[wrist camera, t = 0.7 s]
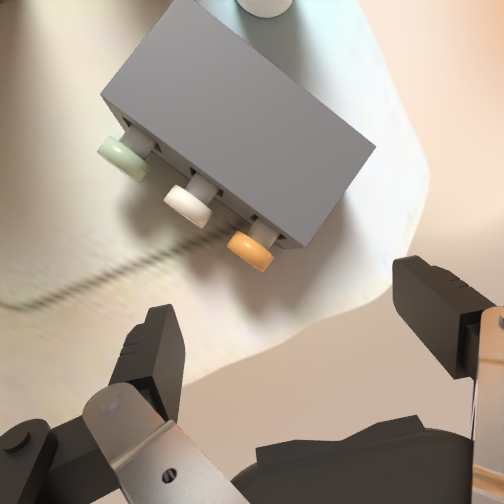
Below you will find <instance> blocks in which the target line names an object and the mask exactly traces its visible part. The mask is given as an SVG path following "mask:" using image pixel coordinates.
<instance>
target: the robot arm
mask: <svg viewBox="0 0 504 504" xmlns="http://www.w3.org/2000/svg"><path fill="white" fill-rule="evenodd" d="M0 1H1V0H0ZM392 272H393V302H394V305H395V308H396V310H397V312H398V314H399V315H400V316H401V317H402V318H403V320H404V321H405V322H406V323H407V324H408V326H409V327H410V328H411V329H412V330H413V331H414V333H415V334H416V335H417V336H418V337H419V338H420V340H421V341H422V342H423V343H424V345H425V346H426V347H427V348H428V349H429V350H430V352H431V353H432V354H433V355H434V356H435V357H436V359H437V360H438V361H439V362H440V363H441V364H442V366H443V367H444V368H445V369H446V370H447V372H448V373H449V374H450V375H451V376H452V378H454V380H455V379H460V378H465V377H471V378H472V379H473V380H474V383H473V393H472V406H471V419H470V420H471V421H470V433H469V438H466V437H464V436H461V435H458V434H455V433H452V432H448V431H444V430H439V429H432V428H425V427H424V426H423V424H422V422H421V421H420V419H419V418H418V416H417V415H413V416H408V417H403V418H398V419H394V420H389V421H384V422H379V423H376V424H374V425H372V426H370V427H368V428H366V429H364V430H362V431H360V432H358V433H356V434H354V435H352V436H350V437H348V438H346V439H344V440H341V441H314V440H292V441H287V442H282V443H278V444H272V445H268V446H263V447H258V448H256V457H257V462H256V463H254V464H252V465H250V466H249V467H247V468H246V469H244V470H242V471H241V472H240V473H239V474H238V475H236V476H235V477H234V478H233V479H232V480H231V481H229V480H228V479H227V478H226V477H225V476H224V475H223V474H222V473H221V472H220V471H219V469H218V468H217V467H216V466H215V465H214V464H213V463H212V462H211V461H210V460H209V459H208V458H207V456H206V455H205V454H204V453H203V452H202V451H201V450H200V449H199V448H198V447H197V446H196V445H195V443H194V442H193V441H192V440H191V439H190V438H189V437H188V436H187V435H186V434H185V433H184V432H183V431H182V429H181V428H180V427H179V426H178V425H177V419H178V411H179V402H180V395H181V387H182V378H183V370H184V362H185V345H184V340H183V337H182V334H181V330H180V327H179V324H178V321H177V318H176V315H175V312H174V309H173V306H172V305H171V304H167V305H162V306H157V307H152V308H149V310H148V313H147V316H146V319H145V322H144V323H143V324H138V325H136V326H135V327H134V328H133V329H132V330H131V332H130V333H129V334H128V335H127V337H126V340H125V342H124V345H123V348H122V350H121V353H120V357H119V358H118V361H117V363H116V366H115V369H114V371H113V374H112V376H111V379H110V382H109V384H108V386H107V387H105V388H103V389H102V390H100V391H99V392H97V393H96V394H95V395H94V396H92V397H91V399H90V400H89V401H88V402H87V403H86V405H85V407H84V409H83V413H82V415H81V416H79V417H77V418H75V419H73V420H71V421H68V422H66V423H64V424H62V425H59V426H57V427H55V428H53V429H51V428H50V427H49V425H48V423H47V422H46V421H45V420H42V419H32V420H28V421H25V422H22V423H20V424H18V425H16V426H14V427H13V428H11V429H10V430H8V431H7V432H5V433H4V434H3V435H2V436H1V437H0V504H90V503H92V502H94V501H96V500H98V499H99V498H101V497H103V496H105V495H107V494H109V493H111V492H112V491H114V490H116V489H118V488H120V490H121V492H122V494H123V495H124V497H125V499H126V501H127V502H128V504H504V306H496V305H495V304H494V303H492V302H491V301H490V300H488V299H487V298H485V297H484V296H483V295H481V294H480V293H479V292H477V291H476V290H474V289H473V288H472V287H469V285H468V284H466V283H465V282H464V281H462V280H460V278H458V277H457V276H455V275H454V274H453V273H451V272H450V271H448V270H445V269H443V268H440V267H437V266H430V265H429V264H428V263H427V262H425V261H424V260H423V259H421V258H420V257H419V256H416V255H414V256H409V257H404V258H399V259H395V260H394V261H393V266H392Z"/></svg>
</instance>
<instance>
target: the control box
mask: <svg viewBox="0 0 504 504" xmlns="http://www.w3.org/2000/svg"><path fill="white" fill-rule="evenodd" d="M100 95H101V97H102V98H103V100H104V101H105V102H106V104H107V105H108V107H109V108H110V110H111V111H112V113H113V114H114V116H115V117H116V119H117V120H118V122H119V123H120V125H121V126H122V128H123V129H124V131H125V132H126V131H127V130H128V128H129V127H130V126H131V125H132V124H134V125H135V126H136V127H138V128H139V129H140V130H142V131H143V132H145V133H146V134H147V135H149V136H150V137H151V138H153V139H154V140H155V141H157V144H156V145H155V146H154V148H153V149H152V150H151V151H152V152H153V153H155V154H156V155H157V156H159V157H160V158H161V159H163V160H164V161H165V162H167V163H168V164H169V165H171V166H172V167H174V168H175V169H176V170H178V171H179V172H180V173H182V174H183V175H184V176H186V177H187V178H188V179H190V180H191V179H192V178H193V176H194V175H195V173H196V172H198V173H200V174H201V175H202V176H204V177H205V178H207V179H208V180H209V181H211V182H212V183H213V184H215V185H216V186H217V187H219V188H220V189H219V191H218V192H217V193H216V195H215V196H214V198H216V199H217V200H218V201H220V202H221V203H222V204H224V205H225V206H226V207H228V208H229V209H231V210H232V211H233V212H235V213H236V214H237V215H239V216H240V217H241V218H243V219H244V220H245V221H247V222H248V223H250V224H251V225H253V224H254V222H255V221H256V220H257V218H258V217H259V218H260V219H262V220H263V221H265V222H266V223H267V224H269V225H270V226H271V227H273V228H274V229H275V230H277V231H278V232H279V233H280V235H279V236H278V238H277V239H276V240H275V243H277V244H278V245H279V246H281V247H282V248H283V249H287V248H302V247H306V246H307V245H308V243H309V242H310V241H311V239H312V238H313V236H314V235H315V233H316V232H317V231H318V229H319V228H320V226H321V225H322V224H323V222H324V221H325V219H326V218H327V216H328V215H329V214H330V212H331V211H332V209H333V208H334V206H335V205H336V204H337V202H338V201H339V199H340V198H341V196H342V195H343V194H344V192H345V191H346V189H347V188H348V186H349V185H350V184H351V182H352V181H353V179H354V178H355V176H356V175H357V174H358V172H359V171H360V169H361V168H362V167H363V165H364V164H365V162H366V161H367V159H368V158H369V157H370V155H371V154H372V152H373V151H374V149H375V148H376V146H375V145H374V144H373V143H371V142H370V141H369V140H368V139H366V138H365V137H364V136H363V135H361V134H360V133H359V132H358V131H356V130H355V129H354V128H353V127H351V126H350V125H349V124H348V123H346V122H345V121H344V120H343V119H341V118H340V117H339V116H338V115H336V114H335V113H334V112H333V111H331V110H330V109H329V108H328V107H326V106H325V105H324V104H323V103H321V102H320V101H319V100H318V99H316V98H315V97H314V96H313V95H311V94H310V93H309V92H308V91H306V90H305V89H304V88H303V87H301V86H300V85H299V84H298V83H296V82H295V81H294V80H293V79H291V78H290V77H289V76H288V75H286V74H285V73H284V72H283V71H281V70H280V69H279V68H278V67H276V66H275V65H274V64H273V63H271V62H270V61H269V60H268V59H266V58H265V57H264V56H263V55H261V54H260V53H259V52H258V51H256V50H255V49H254V48H253V47H251V46H250V45H249V44H248V43H246V42H245V41H244V40H243V39H241V38H240V37H239V36H238V35H236V34H235V33H234V32H233V31H231V30H230V29H229V28H228V27H226V26H225V25H224V24H223V23H221V22H220V21H219V20H218V19H216V18H215V17H214V16H213V15H211V14H210V13H209V12H208V11H206V10H205V9H204V8H203V7H201V6H200V5H199V4H198V3H196V2H195V1H194V0H174V1H173V2H172V4H171V5H170V6H169V8H168V9H167V10H166V11H165V13H164V14H163V15H162V16H161V18H160V19H159V20H158V21H157V23H156V24H155V25H154V26H153V28H152V29H151V30H150V32H149V33H148V34H147V35H146V37H145V38H144V39H143V40H142V42H141V43H140V44H139V45H138V47H137V48H136V49H135V50H134V52H133V53H132V54H131V56H130V57H129V58H128V59H127V61H126V62H125V63H124V64H123V66H122V67H121V68H120V69H119V71H118V72H117V73H116V74H115V76H114V77H113V78H112V80H111V81H110V82H109V83H108V85H107V86H106V87H105V88H104V90H103V91H102V92H101V93H100Z"/></svg>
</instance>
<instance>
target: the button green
mask: <svg viewBox="0 0 504 504" xmlns="http://www.w3.org/2000/svg"><path fill="white" fill-rule="evenodd" d="M156 144H157V141H155V140H154V139H153V138H151V137H150V136H149V135H147V134H146V133H145V132H143V131H142V130H140V129H139V128H138V127H136V126H135V125H134V124H132V125H131V126H130V127H129V128H128V130H127V131H126V132H125V134H124V135H123V136H122V137H121V139H120V140H119V141H117V140H116V139H114V138H113V137H111V136H108V137H107V139H106V140H105V141H104V143H103V144H102V145H101V146H100V148H99V149H98V150H97V153H98V154H99V155H101V156H102V157H103V158H104V159H105V160H107V161H108V162H109V163H111V164H112V165H113V166H115V167H116V168H117V169H119V170H120V171H121V172H123V173H124V174H125V175H127V176H128V177H130V178H131V179H133V180H134V181H136V182H137V183H140V181H141V180H142V179H143V177H144V176H145V175H146V174H147V172H148V171H149V170H150V167H149V165H148V164H147V163H145V162H144V159H145V158H146V157H147V155H148V154H149V153H150V152H151V150H152V149H153V148H154V146H155V145H156Z"/></svg>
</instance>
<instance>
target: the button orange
mask: <svg viewBox="0 0 504 504" xmlns="http://www.w3.org/2000/svg"><path fill="white" fill-rule="evenodd" d="M279 235H280V233H279V232H278V231H277V230H275V229H274V228H273V227H271V226H270V225H269V224H267V223H266V222H265V221H263V220H262V219H260V218H259V217H258V218H257V220H256V221H255V222H254V224H253V225H252V227H251V228H250V229H249V231H248V232H247V234H246V235H245V234H243V233H241V232H239V231H237V232H236V233H235V234H234V236H233V237H232V238H231V240H230V241H229V243H228V244H227V245H226V247H227V248H229V249H230V250H231V251H232V252H234V253H235V254H236V255H238V256H239V257H240V258H242V259H243V260H245V261H246V262H247V263H249V264H250V265H252V266H253V267H255V268H256V269H258V270H259V271H261V272H263V273H264V272H265V270H266V269H267V268H268V266H269V265H270V263H271V262H272V260H273V259H274V256H273V255H272V254H271V253H270V252H269V251H268V250H269V249H270V247H271V246H272V245H273V243H274V242H275V240H276V239H277V238H278V236H279Z"/></svg>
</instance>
